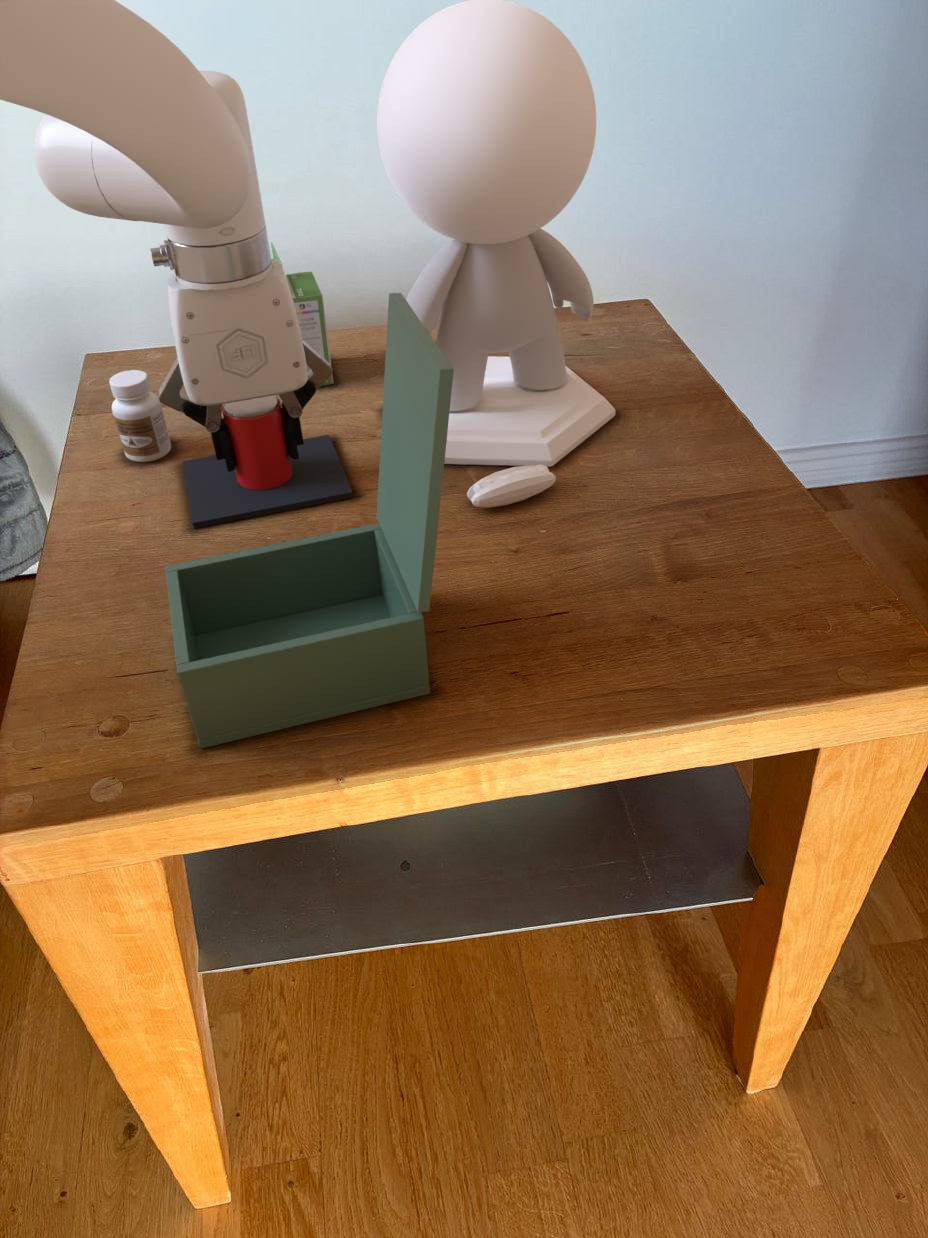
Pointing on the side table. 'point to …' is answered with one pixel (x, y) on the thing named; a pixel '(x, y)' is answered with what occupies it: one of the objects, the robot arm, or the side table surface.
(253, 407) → the can
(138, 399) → the pill bottle
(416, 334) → the lid
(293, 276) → the ink box
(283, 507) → the mat
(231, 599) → the storage box
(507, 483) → the white oval capsule
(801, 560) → the side table surface
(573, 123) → the white toy figurine
